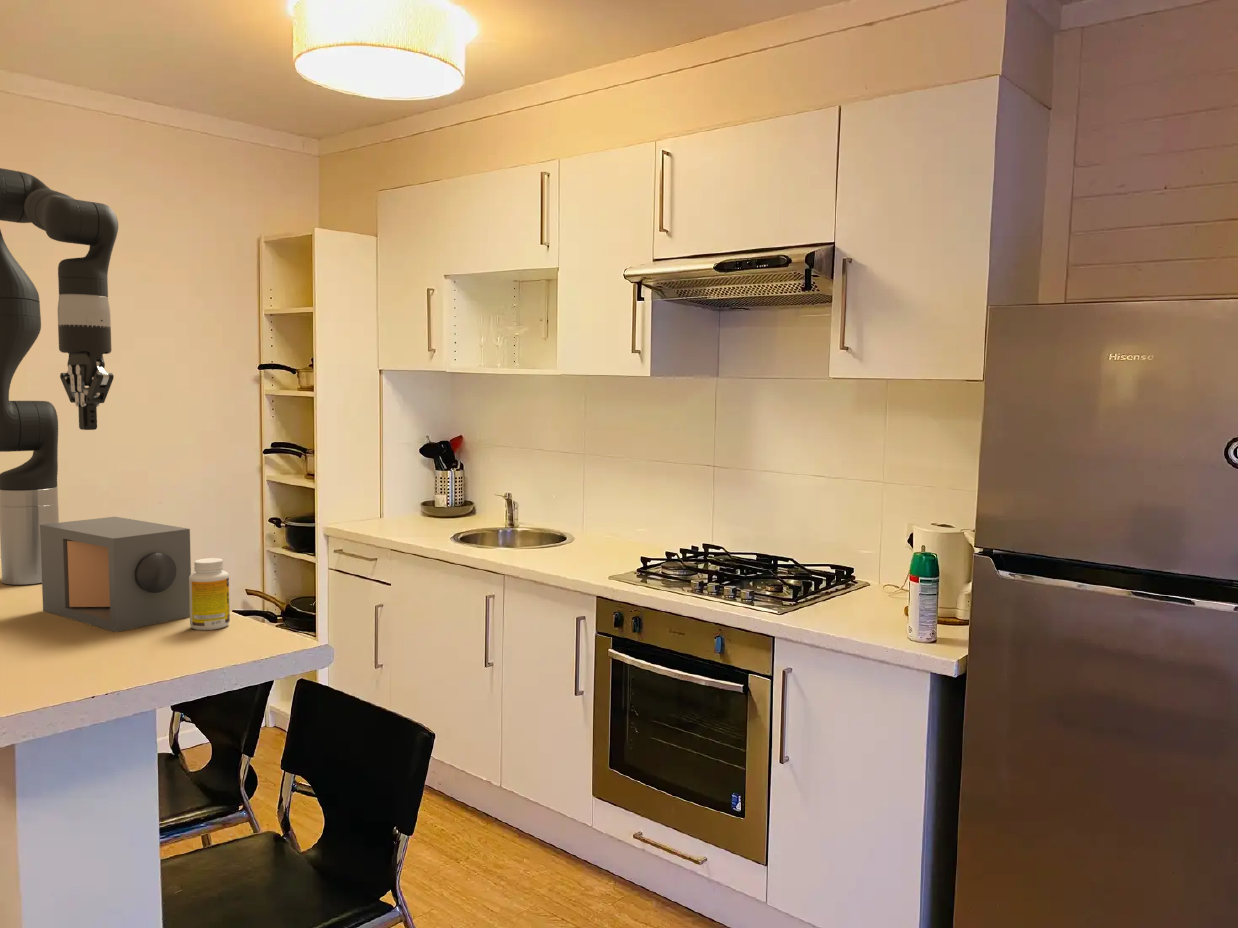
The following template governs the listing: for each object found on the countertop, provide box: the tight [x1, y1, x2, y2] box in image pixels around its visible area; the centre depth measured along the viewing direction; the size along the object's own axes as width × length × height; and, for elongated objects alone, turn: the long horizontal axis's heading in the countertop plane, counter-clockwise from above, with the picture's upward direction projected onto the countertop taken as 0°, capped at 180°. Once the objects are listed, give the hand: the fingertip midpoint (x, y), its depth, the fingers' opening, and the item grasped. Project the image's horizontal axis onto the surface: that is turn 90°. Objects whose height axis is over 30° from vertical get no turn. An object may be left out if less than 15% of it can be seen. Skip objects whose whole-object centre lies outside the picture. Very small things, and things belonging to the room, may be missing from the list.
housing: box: [40, 516, 192, 633], centre depth 147 cm, size 23×12×14 cm, turn 57°
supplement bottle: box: [189, 557, 231, 631], centre depth 141 cm, size 6×6×10 cm
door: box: [67, 540, 110, 607], centre depth 145 cm, size 12×2×10 cm, turn 94°
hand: (88, 429), depth 153 cm, fingers closed
